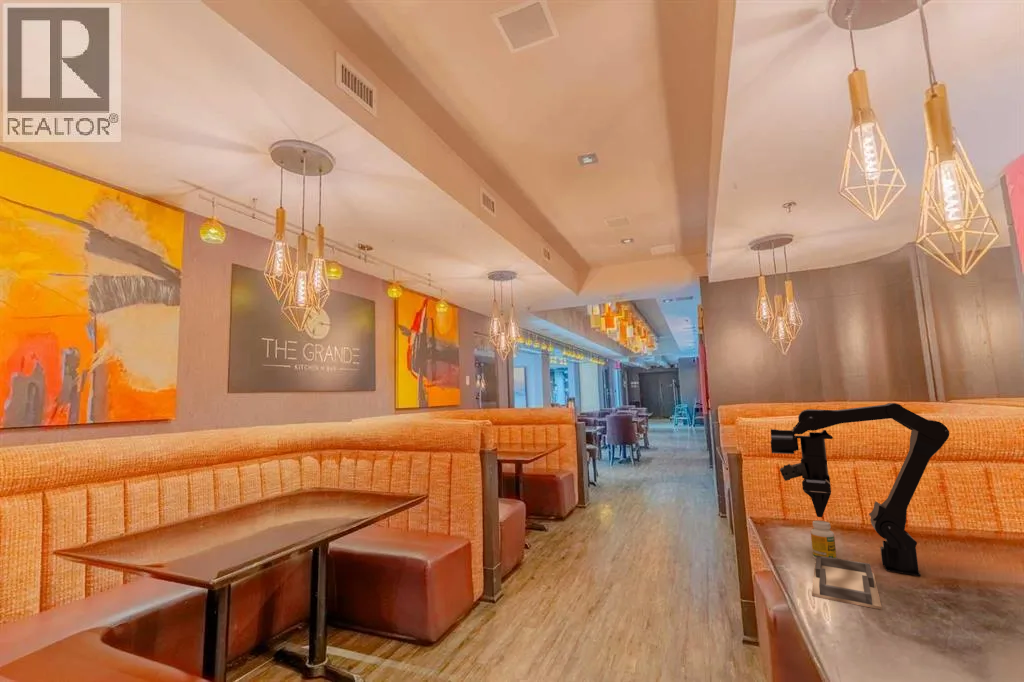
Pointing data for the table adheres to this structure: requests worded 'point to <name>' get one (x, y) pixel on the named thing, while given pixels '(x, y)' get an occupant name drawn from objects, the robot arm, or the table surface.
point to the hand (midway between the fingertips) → (819, 513)
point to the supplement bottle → (823, 540)
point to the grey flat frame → (845, 582)
